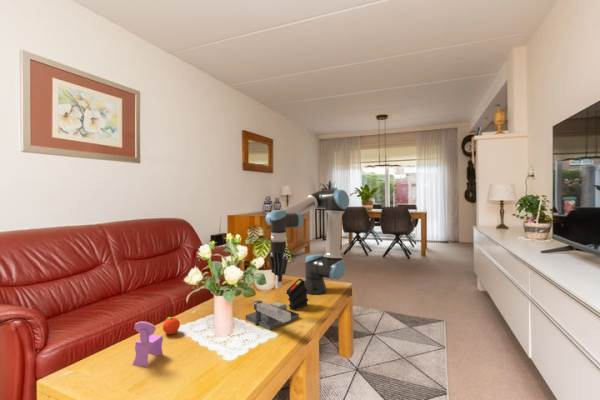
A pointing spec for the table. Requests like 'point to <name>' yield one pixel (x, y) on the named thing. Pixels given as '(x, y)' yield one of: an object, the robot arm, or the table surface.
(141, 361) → the toy chair
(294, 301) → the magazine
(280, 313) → the swing arm
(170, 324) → the tomato
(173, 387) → the table surface
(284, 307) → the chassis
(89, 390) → the table surface
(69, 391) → the table surface
